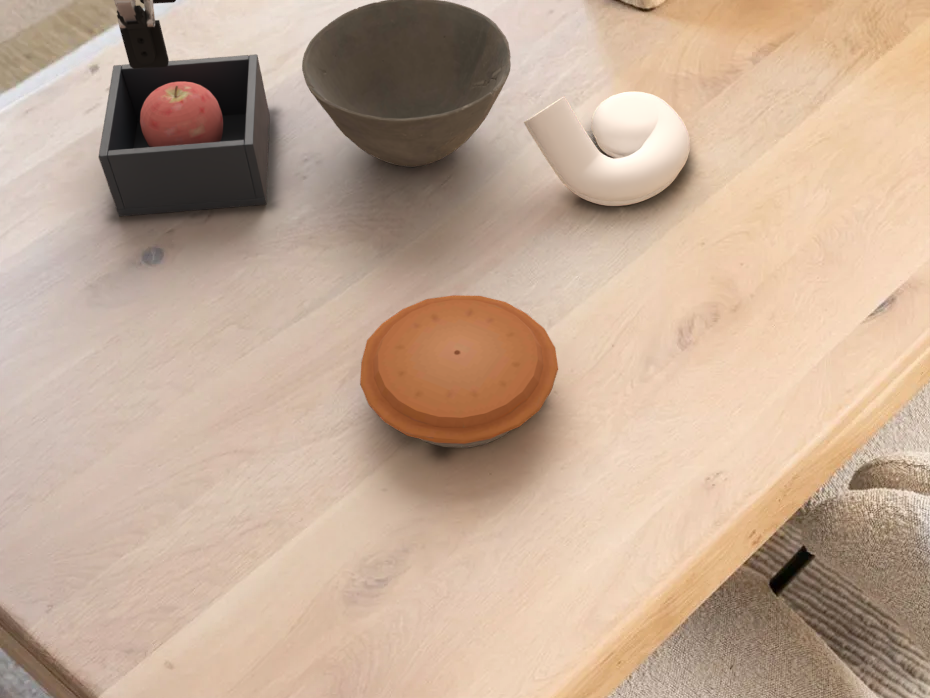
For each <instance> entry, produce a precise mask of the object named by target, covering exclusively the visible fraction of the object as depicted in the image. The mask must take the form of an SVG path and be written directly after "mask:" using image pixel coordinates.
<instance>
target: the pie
mask: <svg viewBox="0 0 930 698" xmlns="http://www.w3.org/2000/svg"><path fill="white" fill-rule="evenodd" d="M360 363H361V364H360V365H361V366H360V379H359V385H360V387H361V388H360V389H361V390H362V392H363V395H364V397H365V400H366V402H367V404H368V406H369V407H370V408H371V409H372V410H373V412H374V413H376V415H377V416H378V417H379V418H380V419H381V421H383V422H384V423H385V424H387V425H389V426H390V427H392V428H393V429H395V430H397V431H399V432H400V433H402V434H404V435H405V436H407V437H411V438H415V439H419V440H421V441H423V442H424V443H428V444H432V445H435V446H437V447H442V448H454V449H455V448H458V449H466V448H471V447H477V446H483V445H487V444H489V443H491V442H493V441H495V440H498V439H500V438H502V437H504V436H505V435H507V434H508V433H509V432H510V431H512V430H515V429H518V428H520V427H521V426H522V425H524V423H526V422H527V421H528V420H530V419H531V418H532V417H533V416H534V415H536V414H537V413H538V412H540V410H541V409H542V407H543V405H544V403H545V402H546V400H547V399H548V398H549V396H550V394H551V392H552V390H553V387H554V385H555V380H556V378H557V375H558V371H559V364H558V358H557V350H556V346H555V345H554V343H553V341H552V340H551V337H550V336H549V334H548V332H547V330H546V329H545V328H544V327H543V326H542V325H541V324H539V322H537V321H536V320H535V319H534V318H532V317H531V316H530V315H529V314H528V313H526V312H524V311H523V310H521V309H519V308H518V307H515V306H514V305H512V304H510V303H508V302H506V301H503V300H500V299H496V298H495V299H494V298H491V297H486V296H483V295H462V294H461V295H459V294H458V295H457V294H455V295H453V294H452V295H448V296H447V295H446V296H439V297H432V298H426V299H424V300H421V301H418V302H416V303H414V304H412V305H409V306H407V307H404V308H402V309H401V310H399V311H398V312H397V313H395V314H394V315H392V316H391V317H389V318H388V319H386V320H385V321H383V322H382V323H381V324H380V325H379V326H378V327H377V328H376V330H375V331H374V332H373V333H372V334H371V335H370V336H369V337H368V339H367V340H366V342H365V348H364V350H363V354H362V358H361V362H360Z"/></svg>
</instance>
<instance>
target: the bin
mask: <svg viewBox="0 0 930 698" xmlns="http://www.w3.org/2000/svg"><path fill="white" fill-rule="evenodd" d="M111 71H112V72H111V78H110V85H109V91H108V96H107V103H106V109H105V115H104V121H103V125H102V126H103V127H102V132H101V137H100V138H101V139H100V145H99V152H98V160H99V163H100V166H101V168H102V171H103V173H104V174H103V175H104V177H105V180H106V183H107V185H108V189H109V192H110V195H111V197H112V200H113V203H114V205H115V209H116V212H117V215H118V217H126V216H140V215H141V216H142V215H153V214H165V213H178V212H187V211H188V212H189V211H203V210H215V209H225V208H238V207H253V206H265V205H267V200H268V199H267V198H268V171H269V169H268V167H269V145H270V143H269V140H270V109H269V105H268V99H267V94H266V91H265V85H264V81H263V80H264V79H263V75H262V71H261V66H260V60H259V56H258V54H257V53H255V54H243V55H231V56H230V55H229V56H228V55H227V56H217V57H216V56H215V57H205V58H192V59H179V60H169V62H168V65H167V66H166V67H155V68H138V69H134V68H132V67H131V66H130V65H129V63H127V64H114V65H113V66H112V70H111ZM172 82H192V83H195V84H199V85H201V86H202V87H204V88H206V89H207V90H209V91H210V92H211V93H212V95H213V96H214V97H215V98H216V100H217V102H218V104H219V107H220V109H221V112H222V117H223V133H222V138H221V141H220V142H210V143H197V144H184V145H172V146H159V147H150V146H149V145H148V143H147V141H146V139H145V138H144V135H143V133H142V129H141V124H140V115H141V109H142V106H143V104H144V102H145V100H146V99H147V97H148V96H149V95H150V94H151V93H152V92H153V91H154V90H156V89H157V88H159V87H161V86H163V85H165V84H168V83H172Z"/></svg>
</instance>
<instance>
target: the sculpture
mask: <svg viewBox="0 0 930 698" xmlns="http://www.w3.org/2000/svg"><path fill="white" fill-rule="evenodd" d="M523 124H524V126H525V127H526V129H527V130H528V132H529V134H530V136H531V137H532V139H533V141H534V142H535V144H536V145H537V147H538V149H539V151H540V152H541V154H542V156H543V157H544V158H545V160H546V161H547V164H549V166H550V167H551V169H552V171H553V173H555V175H556V176H557V178H558V179H559V180H560V181H561V183H562V184H563V185H564V187H566V188H567V190H569V191H570V192H572V193H573V194H574V195H576V196H577V197H579V198H581V199H583V200H585V201H588V202H590V203H593V204H597V205H600V206H607V207H620V206H628V205H635V204H637V203H640V202H643V201H647V200H649V199H651V198H653V197H655V196H656V195H658V194H660V193H661V192H663V191H664V190H665V189H667V188H668V187H670V186H671V184H672V183H673V182H674V181H675V179H676V178H677V177H678V176H679V173H680V172H681V171H682V169H683V168H684V167H685V165H686V163H687V160H688V159H689V155H690V150H691V139H690V134H689V130H688V128H687V126H686V124H685V122H684V120H683V119H682V118H681V116H680V114H678V113H677V111H676V110H675V109H674V108H673V107H672V106H671V105H670V104H668V103H667V101H665V100H664V99H663V98H661V97H659V96H657V95H655V94H652V93H649V92H644V91H624V92H619V93H615V94H613V95H610V96H608V97H607V98H605V99H604V100H603V101H602V102H600V103H599V104H598V105H597V107H596V108H595V110H594V112H593V114H592V117H591V121H590V126H591V133H592V135H593V137H594V139H595V141H596V144H597V146H598V147H599V149H600V150H601V151H600V150H599V149H598V147H597V146H596V145H595V143H594V141H593V140H592V138H590V136H589V134H588V133H587V131H586V129H585V128H584V126H583V125H582V123H581V122H580V120H579V118H578V116H577V114H576V112H575V111H574V109H573V108H572V106H571V104H570V103H569V101H568V99H567V97H566V95H565V96H562V97H560V98H559V99H557V100H556V101H555V100H554V102H553V103H550V104H549V105H547V106H546V107H544V108H543V109H541V110H540V111H538V112H537V113H535V114H533V115H532V116H531V117H529V118H528V119H526V120H525V121H523ZM602 152H603V153H604V154H603V153H602ZM605 154H606V155H605Z"/></svg>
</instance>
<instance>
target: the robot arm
mask: <svg viewBox="0 0 930 698" xmlns="http://www.w3.org/2000/svg"><path fill="white" fill-rule="evenodd" d="M113 1H114V5H115V7H116V17H117V22H118V27H119V31H120V35H121V39H122V42H123V46H124V50H125V53H126V57H127V60H128V64H129V65H130V66H131V67H132V68H134V69H138V68H155V67H166V66H167V65H168V62H169V61H170V60H169V59H170V58H169V55H168V51H167V47H166V43H165V39H164V34H163V30H162V26H161V22H160V19H156V16H155V8H154V4H170V3H173V4H174V3H175V2H176V1H177V0H139V2H140V3H141V4H142V5H143V6H144V8H143V7H142V6H141V5H136V4H137V3H136V0H113Z"/></svg>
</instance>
